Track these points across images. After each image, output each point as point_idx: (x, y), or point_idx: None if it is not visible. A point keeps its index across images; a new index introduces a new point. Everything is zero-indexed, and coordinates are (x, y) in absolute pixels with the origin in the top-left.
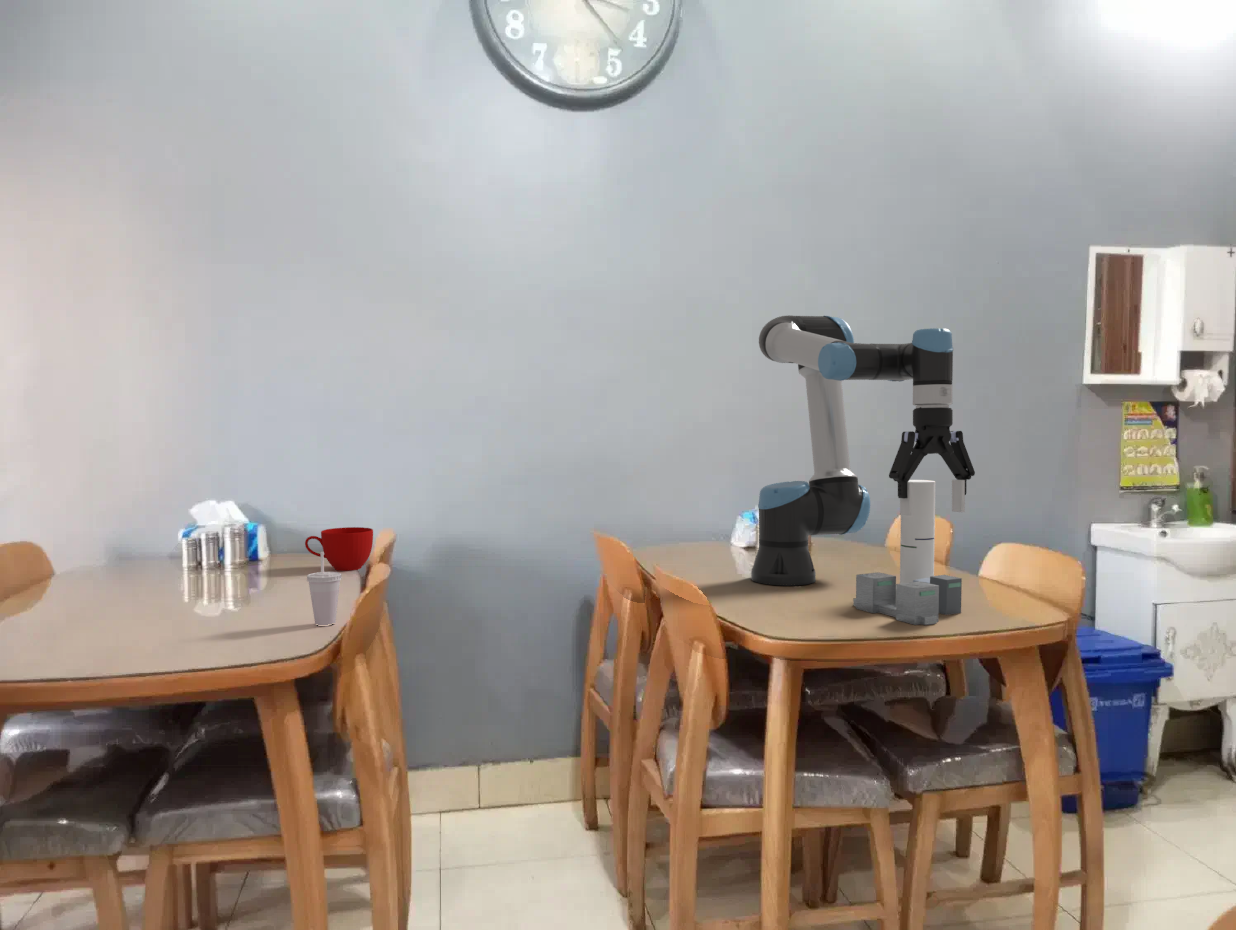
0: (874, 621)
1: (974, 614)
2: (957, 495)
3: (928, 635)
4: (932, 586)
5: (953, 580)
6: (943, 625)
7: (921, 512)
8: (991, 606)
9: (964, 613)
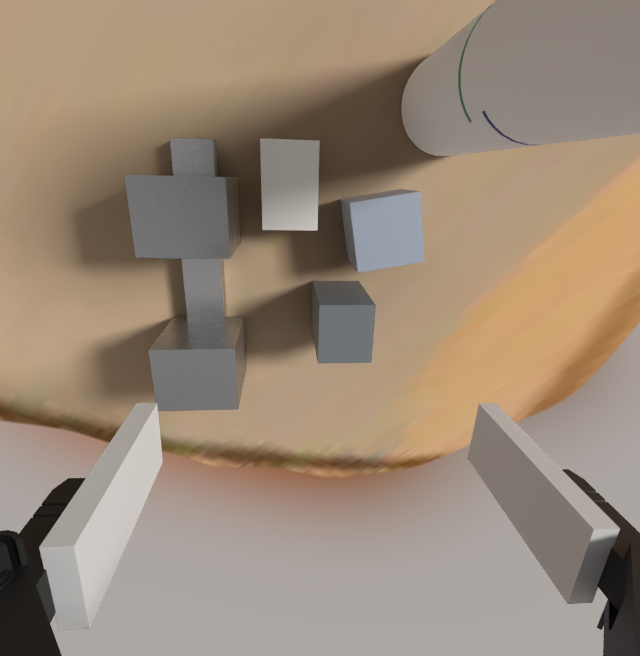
0: (117, 306)
1: None
2: (514, 491)
3: None
4: (215, 409)
5: (340, 361)
6: None
7: (580, 113)
8: (465, 314)
9: None
